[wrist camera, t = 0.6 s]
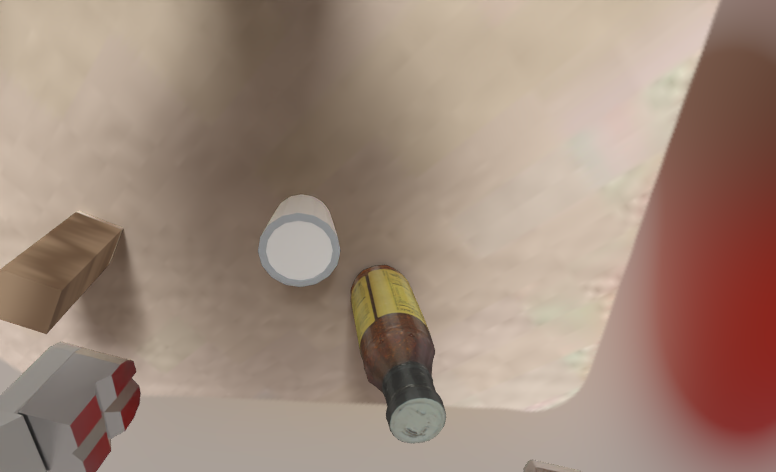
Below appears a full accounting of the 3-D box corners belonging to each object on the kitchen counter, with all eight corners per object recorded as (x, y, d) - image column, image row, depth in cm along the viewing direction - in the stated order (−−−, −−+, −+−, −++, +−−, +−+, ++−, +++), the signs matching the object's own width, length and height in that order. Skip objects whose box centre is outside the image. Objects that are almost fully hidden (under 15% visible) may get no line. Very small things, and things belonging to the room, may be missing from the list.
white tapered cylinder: (348, 238, 50) (352, 270, 43) (285, 264, 50) (279, 298, 44) (321, 177, 47) (320, 201, 41) (253, 204, 47) (243, 231, 41)
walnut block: (65, 246, 47) (-14, 315, 36) (78, 210, 45) (0, 269, 34) (110, 263, 48) (46, 334, 37) (123, 227, 47) (61, 290, 36)
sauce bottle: (368, 323, 54) (391, 475, 36) (338, 279, 51) (347, 418, 33) (421, 295, 53) (473, 435, 35) (394, 249, 51) (435, 374, 33)
